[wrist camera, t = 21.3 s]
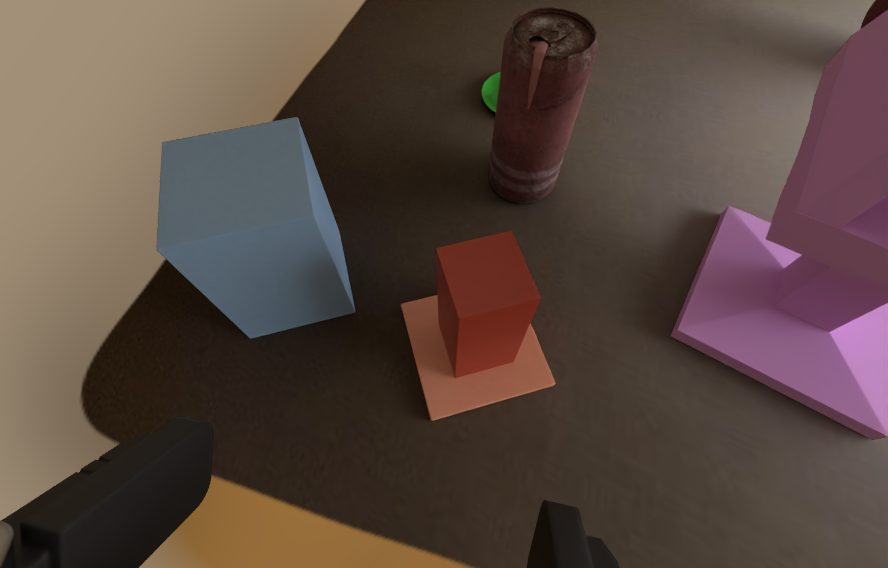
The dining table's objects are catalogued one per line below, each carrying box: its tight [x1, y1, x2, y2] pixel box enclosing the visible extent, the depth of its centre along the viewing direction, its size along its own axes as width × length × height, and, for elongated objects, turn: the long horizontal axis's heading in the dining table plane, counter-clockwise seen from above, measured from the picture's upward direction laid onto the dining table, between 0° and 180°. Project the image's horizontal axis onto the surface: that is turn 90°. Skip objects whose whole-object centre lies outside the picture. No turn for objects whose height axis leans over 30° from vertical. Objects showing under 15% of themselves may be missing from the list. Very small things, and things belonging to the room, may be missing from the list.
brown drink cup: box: [488, 7, 598, 204], centre depth 34 cm, size 6×6×14 cm
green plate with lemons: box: [482, 72, 501, 112], centre depth 44 cm, size 8×8×3 cm
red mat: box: [401, 295, 555, 421], centre depth 32 cm, size 9×9×1 cm
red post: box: [436, 231, 541, 378], centre depth 27 cm, size 4×4×10 cm
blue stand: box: [157, 117, 355, 339], centre depth 29 cm, size 8×8×12 cm
